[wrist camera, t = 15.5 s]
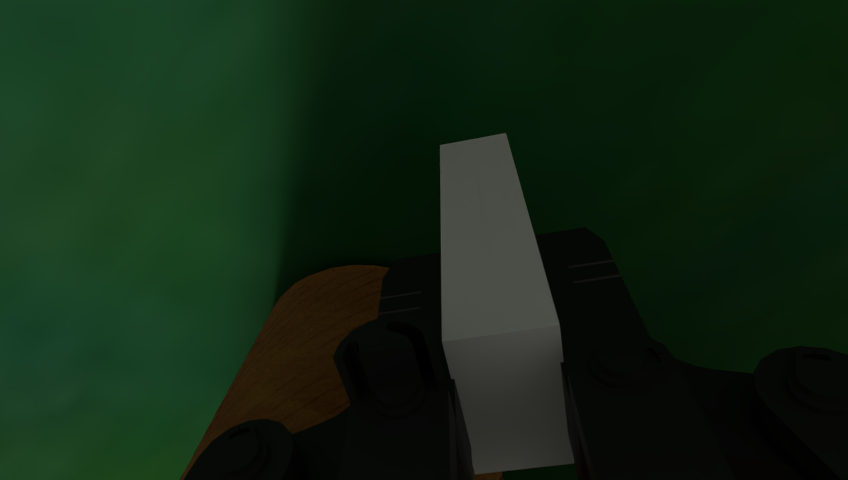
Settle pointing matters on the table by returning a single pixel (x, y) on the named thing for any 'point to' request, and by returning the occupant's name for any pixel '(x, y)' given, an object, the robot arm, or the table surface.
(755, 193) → the table surface
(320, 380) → the disposable coffee cup
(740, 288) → the table surface
